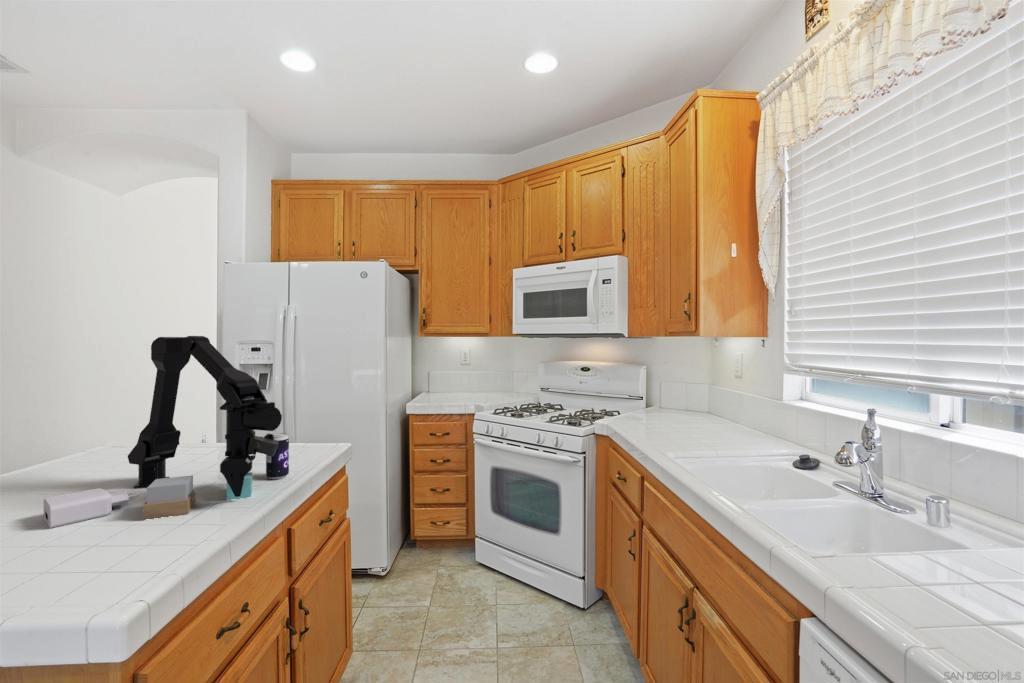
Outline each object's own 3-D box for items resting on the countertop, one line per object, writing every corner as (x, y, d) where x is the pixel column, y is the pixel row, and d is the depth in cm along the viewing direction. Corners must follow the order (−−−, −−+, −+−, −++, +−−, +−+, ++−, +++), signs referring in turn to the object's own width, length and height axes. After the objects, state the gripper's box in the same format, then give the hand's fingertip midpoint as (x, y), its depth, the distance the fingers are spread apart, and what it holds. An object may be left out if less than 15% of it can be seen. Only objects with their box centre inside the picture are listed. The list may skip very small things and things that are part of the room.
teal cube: (229, 494, 113) (229, 474, 113) (252, 491, 116) (252, 472, 116) (226, 501, 109) (226, 480, 109) (250, 497, 111) (250, 477, 111)
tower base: (153, 509, 104) (153, 494, 104) (195, 504, 107) (195, 489, 107) (142, 522, 97) (142, 505, 97) (188, 516, 100) (188, 500, 100)
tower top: (156, 494, 104) (156, 479, 104) (192, 490, 107) (192, 475, 107) (146, 504, 98) (146, 488, 98) (186, 499, 101) (186, 483, 101)
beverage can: (279, 481, 124) (279, 437, 124) (261, 479, 125) (261, 436, 125) (293, 475, 130) (293, 433, 130) (275, 473, 131) (276, 432, 131)
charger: (142, 508, 104) (50, 530, 92) (131, 500, 110) (43, 519, 98) (142, 488, 104) (50, 506, 92) (132, 480, 110) (43, 497, 98)
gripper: (275, 432, 107) (275, 498, 107) (277, 420, 124) (277, 477, 124) (219, 436, 102) (219, 505, 102) (229, 423, 119) (229, 482, 119)
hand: (239, 491), depth 112 cm, fingers open, 8 cm apart
